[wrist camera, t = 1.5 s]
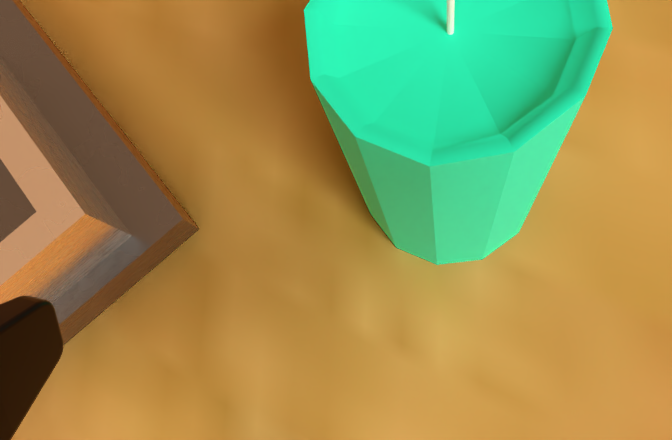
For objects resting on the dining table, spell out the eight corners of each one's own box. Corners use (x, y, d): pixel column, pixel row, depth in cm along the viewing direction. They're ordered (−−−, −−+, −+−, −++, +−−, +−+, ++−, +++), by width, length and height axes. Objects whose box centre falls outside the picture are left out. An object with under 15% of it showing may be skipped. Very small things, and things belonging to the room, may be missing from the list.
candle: (570, 166, 21) (714, -80, 10) (465, 300, 21) (488, 202, 9) (433, 77, 23) (421, -220, 12) (332, 198, 23) (216, 11, 11)
